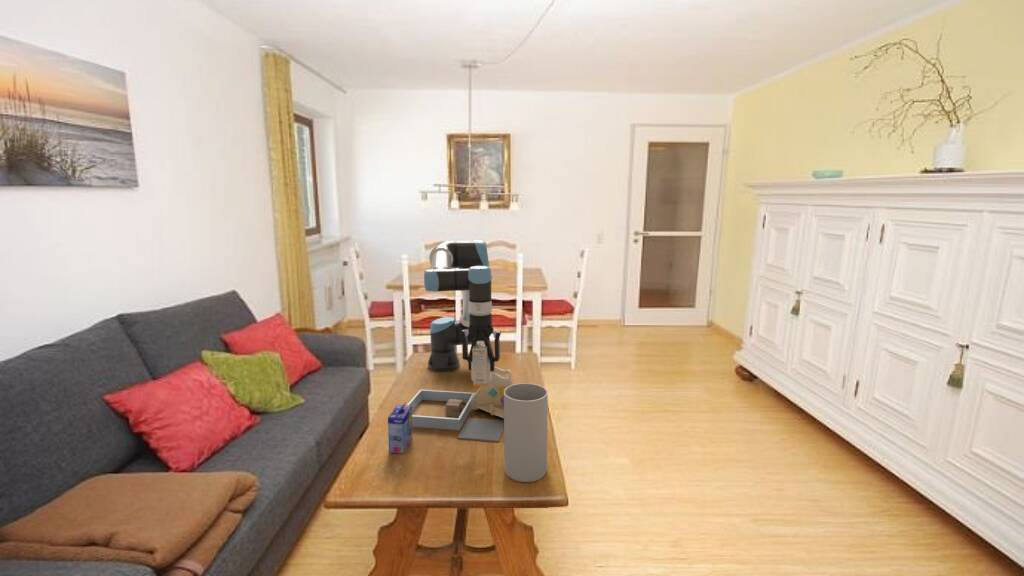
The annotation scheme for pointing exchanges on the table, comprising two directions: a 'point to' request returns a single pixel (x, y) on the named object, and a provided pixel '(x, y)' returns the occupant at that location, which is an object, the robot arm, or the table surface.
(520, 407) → the cylinder vase
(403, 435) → the ink cartridge box
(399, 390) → the table surface
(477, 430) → the mat
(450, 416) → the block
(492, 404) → the shape sorter
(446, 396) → the bin
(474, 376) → the supplement box
